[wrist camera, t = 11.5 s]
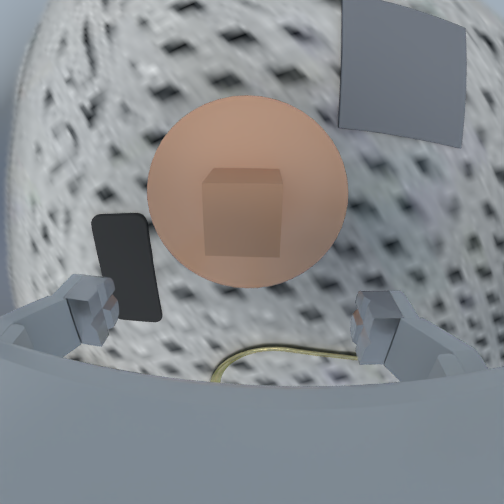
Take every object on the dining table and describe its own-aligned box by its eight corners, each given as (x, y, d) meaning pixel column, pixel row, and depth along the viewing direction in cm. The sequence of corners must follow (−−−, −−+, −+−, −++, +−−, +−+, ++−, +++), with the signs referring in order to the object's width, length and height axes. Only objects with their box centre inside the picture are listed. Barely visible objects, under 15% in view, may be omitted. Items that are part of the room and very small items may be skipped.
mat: (463, 28, 22) (465, 28, 22) (458, 147, 29) (461, 148, 29) (341, -7, 23) (342, -8, 22) (337, 127, 29) (339, 127, 29)
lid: (351, 102, 18) (377, 102, 13) (333, 283, 23) (347, 323, 19) (146, 101, 18) (114, 101, 14) (160, 279, 24) (141, 316, 19)
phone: (113, 318, 40) (88, 216, 34) (115, 315, 41) (92, 213, 34) (163, 323, 40) (145, 214, 33) (164, 319, 41) (147, 211, 34)
